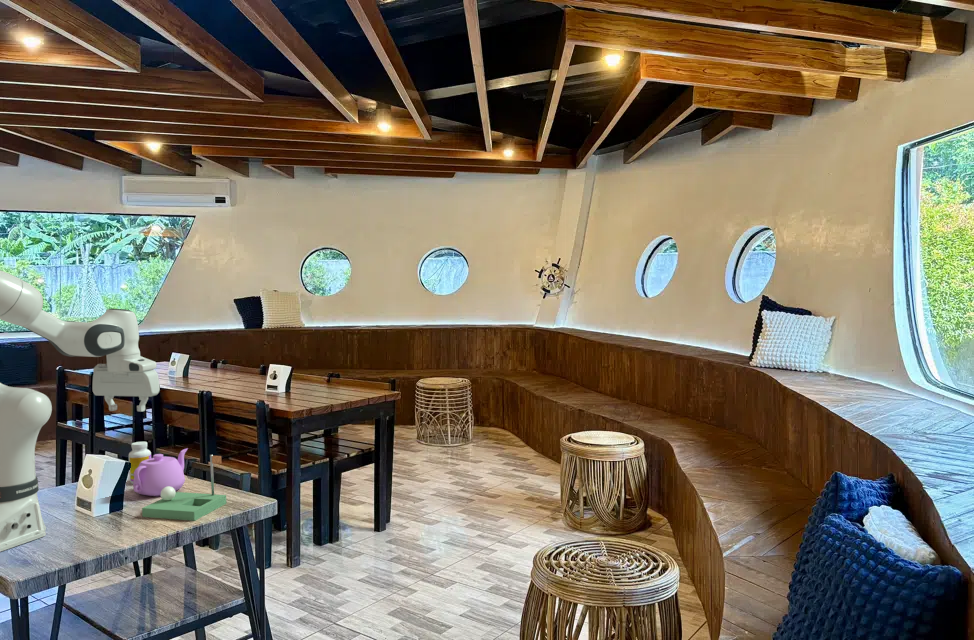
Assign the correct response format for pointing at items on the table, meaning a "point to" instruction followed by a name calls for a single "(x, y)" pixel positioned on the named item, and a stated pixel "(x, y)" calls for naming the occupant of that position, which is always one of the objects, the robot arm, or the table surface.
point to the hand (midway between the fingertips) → (127, 410)
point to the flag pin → (212, 460)
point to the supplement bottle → (138, 456)
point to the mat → (184, 506)
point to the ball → (168, 493)
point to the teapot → (159, 474)
